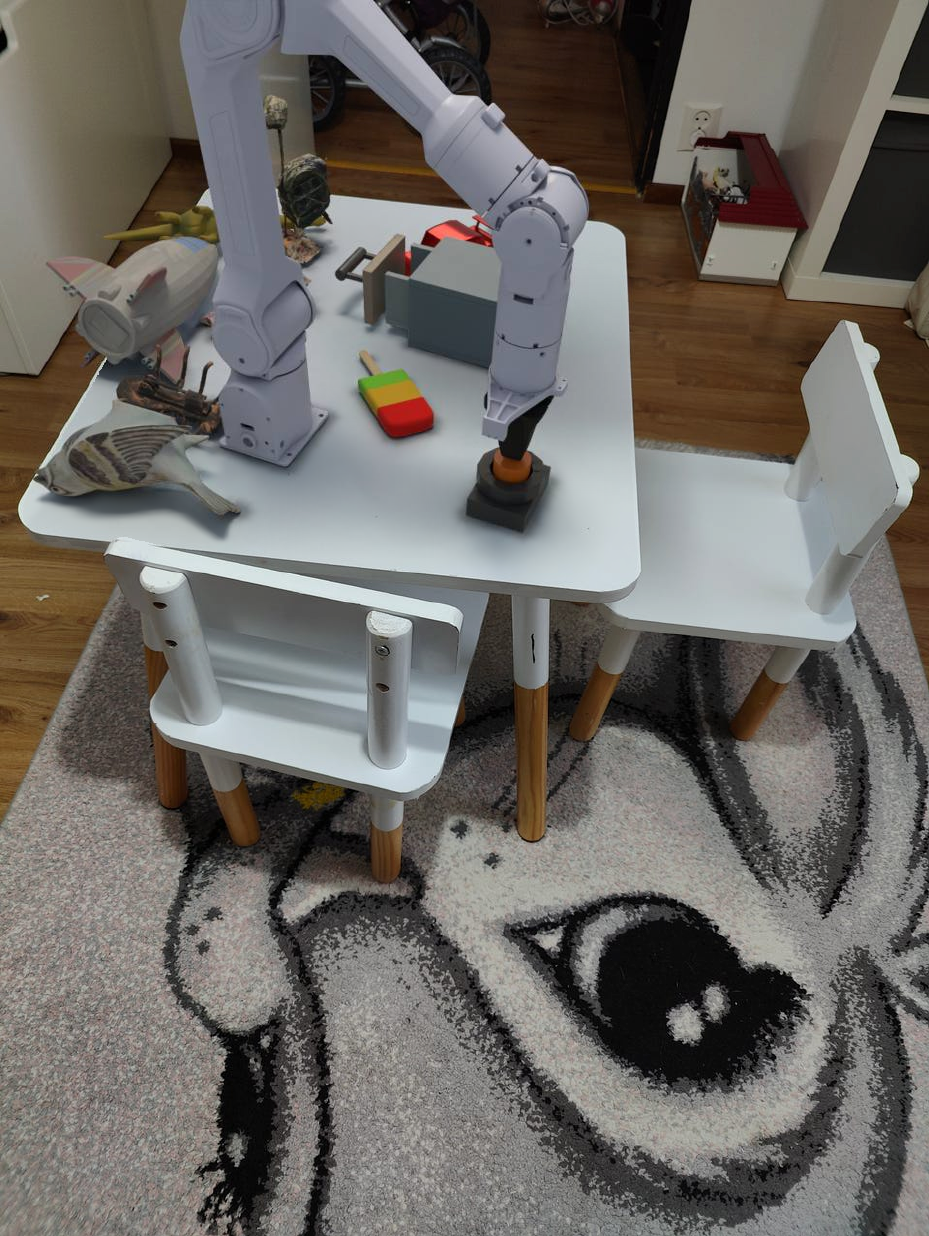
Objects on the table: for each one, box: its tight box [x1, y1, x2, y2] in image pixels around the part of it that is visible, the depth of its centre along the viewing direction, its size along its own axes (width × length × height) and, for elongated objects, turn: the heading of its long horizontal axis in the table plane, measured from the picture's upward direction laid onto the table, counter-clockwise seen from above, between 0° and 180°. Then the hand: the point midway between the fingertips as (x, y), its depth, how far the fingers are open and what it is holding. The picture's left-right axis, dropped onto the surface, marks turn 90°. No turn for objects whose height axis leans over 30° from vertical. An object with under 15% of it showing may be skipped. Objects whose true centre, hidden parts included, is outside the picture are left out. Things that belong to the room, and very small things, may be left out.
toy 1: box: [102, 205, 327, 246], centre depth 117 cm, size 5×32×14 cm
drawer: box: [334, 233, 434, 330], centre depth 106 cm, size 15×9×7 cm, turn 68°
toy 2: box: [115, 344, 223, 435], centre depth 93 cm, size 12×12×5 cm
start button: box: [493, 449, 531, 483], centre depth 86 cm, size 4×4×2 cm
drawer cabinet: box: [407, 236, 502, 369], centre depth 104 cm, size 12×11×9 cm
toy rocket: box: [45, 237, 219, 385], centre depth 102 cm, size 25×12×12 cm, turn 163°
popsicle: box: [357, 349, 435, 438], centre depth 99 cm, size 6×15×2 cm, turn 26°
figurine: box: [32, 399, 242, 516], centre depth 84 cm, size 9×19×10 cm
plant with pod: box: [263, 94, 333, 265], centre depth 109 cm, size 8×11×20 cm
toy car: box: [405, 214, 494, 277], centre depth 115 cm, size 14×6×5 cm, turn 132°
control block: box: [465, 446, 552, 533], centre depth 88 cm, size 8×6×4 cm
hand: (512, 454), depth 85 cm, fingers closed
